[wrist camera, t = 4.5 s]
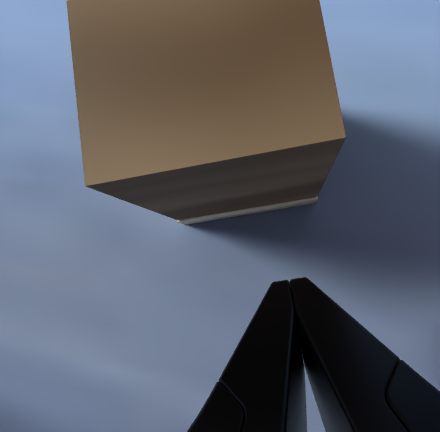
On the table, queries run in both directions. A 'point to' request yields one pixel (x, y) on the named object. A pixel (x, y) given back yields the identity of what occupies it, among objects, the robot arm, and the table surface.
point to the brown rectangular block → (205, 103)
